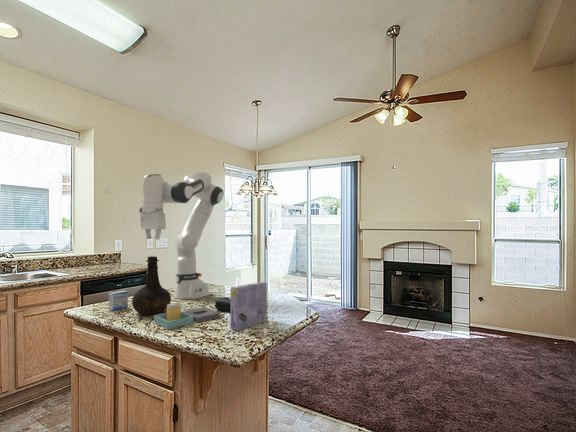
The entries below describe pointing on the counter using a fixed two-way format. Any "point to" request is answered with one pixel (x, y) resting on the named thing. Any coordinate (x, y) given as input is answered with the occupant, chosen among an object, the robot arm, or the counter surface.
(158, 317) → the parts tray
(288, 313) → the counter surface
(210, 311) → the socket block
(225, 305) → the end cap
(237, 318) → the cake pan box
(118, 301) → the medicine box
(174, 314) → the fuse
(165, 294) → the dark brown vase
